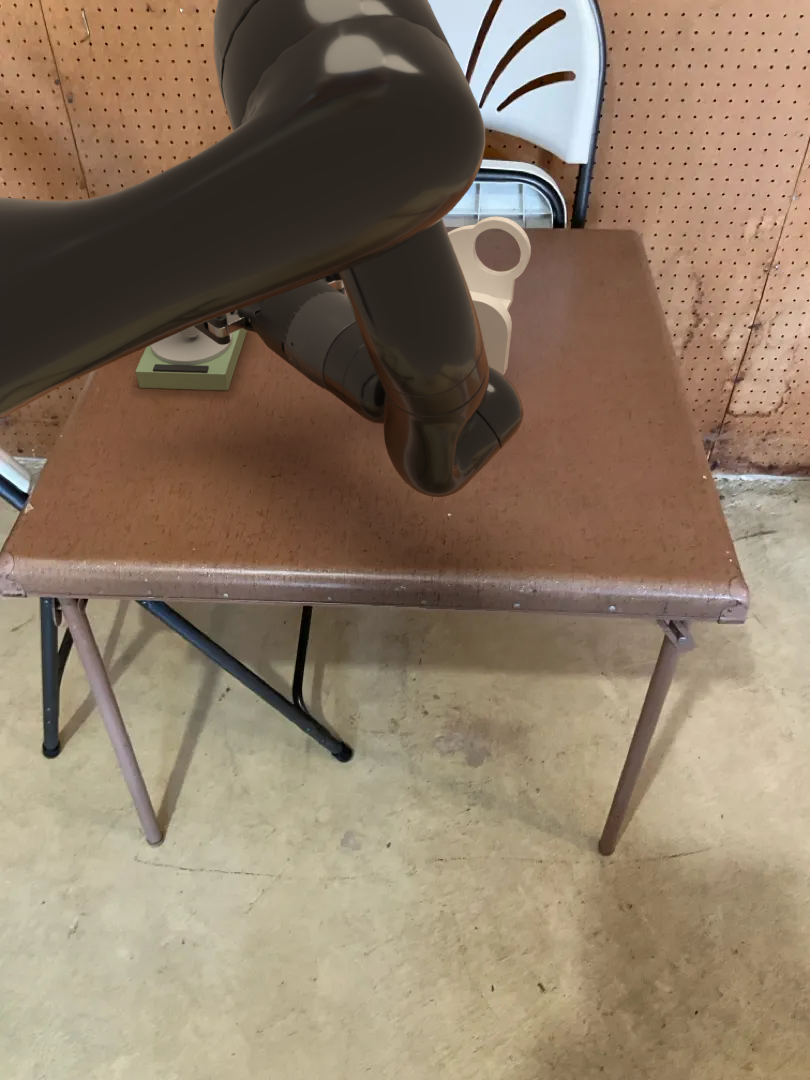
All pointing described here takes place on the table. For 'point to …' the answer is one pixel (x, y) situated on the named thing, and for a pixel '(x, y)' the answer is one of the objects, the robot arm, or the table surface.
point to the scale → (190, 362)
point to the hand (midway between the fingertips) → (223, 262)
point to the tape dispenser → (491, 285)
